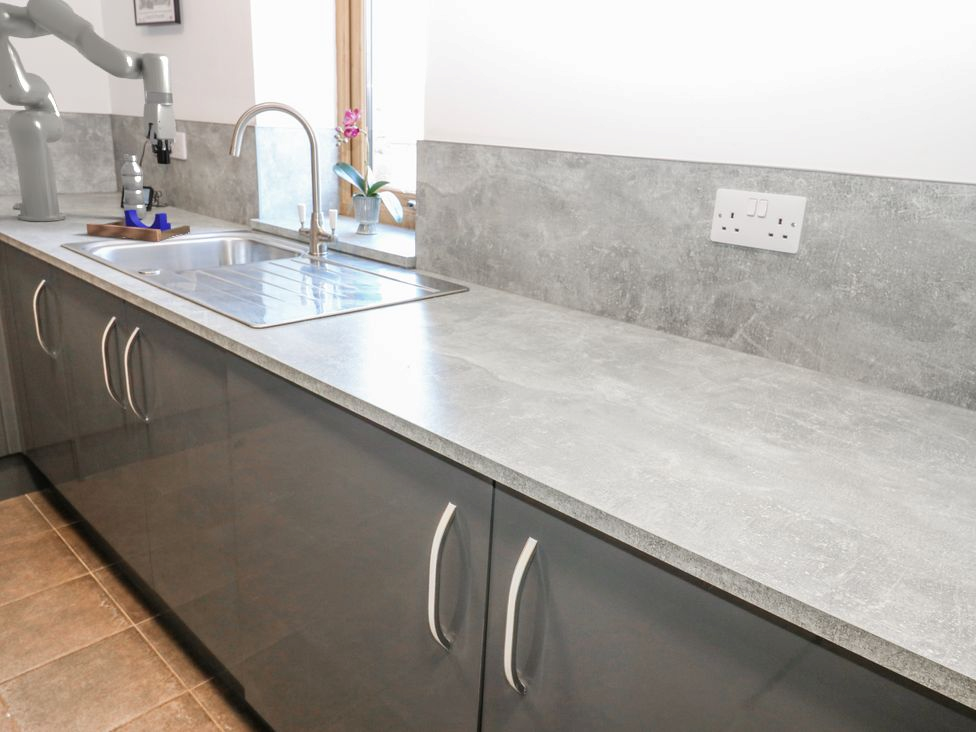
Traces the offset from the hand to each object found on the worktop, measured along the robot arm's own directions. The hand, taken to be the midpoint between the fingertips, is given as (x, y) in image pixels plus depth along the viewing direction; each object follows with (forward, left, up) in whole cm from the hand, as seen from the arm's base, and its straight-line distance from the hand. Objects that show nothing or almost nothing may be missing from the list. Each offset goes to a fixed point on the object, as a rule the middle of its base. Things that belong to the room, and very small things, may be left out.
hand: (163, 163), depth 222 cm
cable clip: (0, -10, -19) cm, 22 cm away
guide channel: (0, -14, -19) cm, 24 cm away
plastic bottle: (-16, +8, -19) cm, 26 cm away
